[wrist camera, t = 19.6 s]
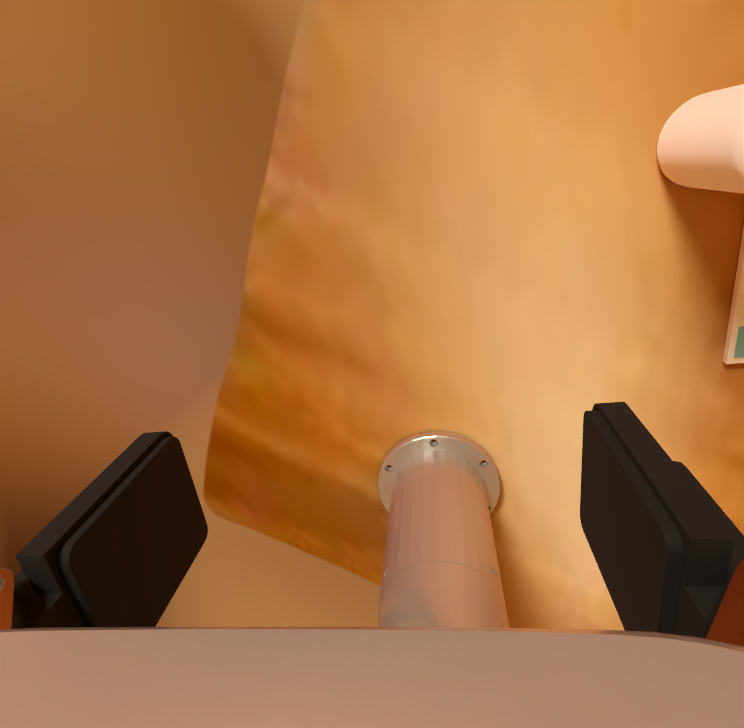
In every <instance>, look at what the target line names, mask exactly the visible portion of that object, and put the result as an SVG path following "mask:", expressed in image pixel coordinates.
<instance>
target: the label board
mask: <svg viewBox="0 0 744 728" xmlns="http://www.w3.org/2000/svg"><path fill="white" fill-rule="evenodd" d="M723 362H724V363H726V364H735V363H744V226H743V233H742V239H741V246H740V252H739V259H738V265H737V271H736V278H735V284H734V291H733V297H732V304H731V310H730V317H729V323H728V330H727V336H726V343H725V349H724V356H723Z"/></svg>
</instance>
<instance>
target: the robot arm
mask: <svg viewBox="0 0 744 728" xmlns="http://www.w3.org/2000/svg"><path fill="white" fill-rule="evenodd" d="M433 439H434V440H433ZM483 460H484V461H483ZM378 492H379V496H380V499H381V502H382V504H383V506H384V507H385V509H386V510H387V512H388V513H389V519H388V528H387V537H386V546H385V555H384V564H383V573H382V582H381V591H380V601H379V611H378V625H379V627H155V626H156V624H157V623H158V621H159V619H160V617H161V616H162V614H163V612H164V611H165V609H166V607H167V606H168V604H169V602H170V600H171V599H172V597H173V595H174V594H175V592H176V590H177V588H178V586H179V585H180V583H181V581H182V579H183V578H184V576H185V575H186V573H187V571H188V570H189V568H190V566H191V564H192V563H193V561H194V559H195V557H196V556H197V554H198V552H199V551H200V549H201V547H202V546H203V544H204V542H205V540H206V537H207V532H208V529H207V523H206V520H205V517H204V514H203V511H202V508H201V505H200V502H199V499H198V495H197V493H196V489H195V487H194V484H193V480H192V477H191V474H190V471H189V469H188V465H187V462H186V459H185V456H184V453H183V450H182V448H181V444H180V442H179V440H178V439H177V438H176V437H173V436H172V434H170V433H169V432H153V433H143V434H142V435H140V436H139V437H138V438H137V439H136V440H135V441H134V442H133V443H132V444H131V445H130V446H129V447H128V448H127V449H126V450H125V451H124V452H123V453H122V454H121V455H119V456H118V457H117V458H116V459H115V460H114V461H113V462H112V463H111V464H110V465H109V466H108V467H107V468H106V469H105V470H104V471H103V472H102V473H101V474H100V475H99V476H98V477H97V478H96V479H95V480H94V481H92V482H91V483H90V484H89V485H88V486H87V487H86V488H85V489H84V490H83V491H82V492H81V493H80V494H79V495H78V496H77V497H76V498H75V499H74V500H73V501H72V502H71V503H70V504H69V505H68V506H67V507H66V508H65V509H63V510H62V511H61V512H60V513H59V514H58V515H57V516H56V517H55V518H54V519H53V520H52V521H51V522H50V523H49V524H48V525H47V526H46V527H45V528H44V529H43V530H42V531H41V532H40V533H38V535H36V536H35V537H34V538H33V539H32V540H31V541H30V542H29V543H28V544H27V545H26V546H25V547H24V548H23V549H22V550H21V551H20V552H19V553H18V554H17V555H16V558H17V560H18V562H19V564H20V566H21V567H22V570H21V571H20V572H19V573H18V575H16V576H14V574H13V573H12V572H11V571H9V570H7V569H0V728H744V536H743V534H742V533H741V532H740V531H739V530H738V528H737V527H736V526H735V525H734V524H733V522H732V521H731V520H730V519H729V518H728V516H727V515H726V514H725V513H724V512H723V510H722V509H721V508H720V507H719V506H718V504H717V503H716V502H715V501H714V500H713V499H712V497H711V496H710V495H709V494H708V493H707V491H706V490H705V489H704V488H703V487H702V485H701V484H700V483H699V482H698V481H697V479H696V478H695V477H694V476H693V475H692V473H691V472H690V471H689V470H688V469H687V467H686V466H684V465H683V464H682V463H681V462H677V461H672V460H671V459H670V457H669V456H668V455H667V454H666V452H665V451H664V450H663V449H662V447H661V446H660V445H659V444H658V442H657V441H656V440H655V439H654V438H653V436H652V435H651V434H650V433H649V431H648V430H647V429H646V428H645V426H644V425H643V424H642V423H641V421H640V420H639V419H638V418H637V416H636V415H635V414H634V413H633V411H632V410H631V409H630V408H629V407H628V405H627V404H626V403H625V402H614V403H598V404H595V405H594V406H593V410H592V411H585V413H584V421H583V448H582V474H581V501H580V518H581V524H582V528H583V531H584V533H585V536H586V538H587V540H588V543H589V545H590V548H591V550H592V552H593V555H594V557H595V560H596V562H597V564H598V567H599V569H600V572H601V574H602V576H603V579H604V581H605V584H606V586H607V588H608V591H609V593H610V596H611V598H612V600H613V603H614V605H615V608H616V610H617V612H618V615H619V617H620V620H621V622H622V624H623V627H624V629H625V631H619V630H596V629H573V628H510V626H509V621H508V615H507V609H506V604H505V599H504V594H503V588H502V582H501V576H500V570H499V565H498V559H497V553H496V547H495V542H494V536H493V530H492V524H491V518H490V514H491V513H492V511H493V510H494V508H495V506H496V505H497V502H498V499H499V496H500V479H499V474H498V471H497V467H496V465H495V463H494V461H493V459H492V458H491V456H490V455H489V454H488V453H487V452H486V451H485V449H483V448H482V447H481V446H480V445H478V444H477V443H476V442H474V441H472V440H470V439H468V438H466V437H464V436H461V435H458V434H454V433H448V432H426V433H421V434H417V435H414V436H411V437H409V438H407V439H405V440H403V441H401V442H400V443H398V444H397V445H396V446H395V447H394V448H392V449H391V450H390V451H389V453H388V454H387V455H386V457H385V458H384V460H383V462H382V464H381V467H380V471H379V476H378Z"/></svg>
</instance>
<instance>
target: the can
mask: <svg viewBox="0 0 744 728" xmlns="http://www.w3.org/2000/svg"><path fill="white" fill-rule="evenodd" d="M657 158H658V162H659V166H660V168H661V170H662V172H663V173H664V174H665V176H666V177H667V178H668V179H670V180H671V181H672V182H674V183H676V184H678V185H681V186H685V187H692V188H699V189H708V190H716V191H725V192H734V193H744V84H742V85H738V86H733V87H729V88H725V89H721V90H716V91H712V92H708V93H705V94H701V95H698V96H696V97H694V98H692V99H690V100H689V101H687V102H686V103H684V104H683V105H682V106H680V107H679V108H678V109H677V110H676V111H675V112H674V113H673V114H672V115H671V116H670V118H669V119H668V120H667V122H666V123H665V125H664V127H663V129H662V131H661V134H660V136H659V140H658V145H657Z"/></svg>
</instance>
